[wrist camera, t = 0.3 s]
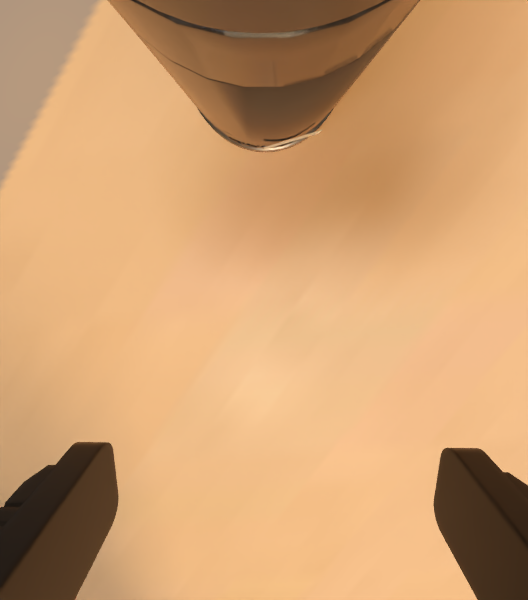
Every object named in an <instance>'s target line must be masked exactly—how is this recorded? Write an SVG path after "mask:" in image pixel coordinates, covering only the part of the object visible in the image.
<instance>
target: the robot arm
mask: <svg viewBox="0 0 528 600" xmlns="http://www.w3.org/2000/svg"><path fill="white" fill-rule="evenodd" d="M108 1H109V3H110V4H111V5H112V6H113V7H114V8H115V10H116V11H117V12H118V13H119V14H120V15H121V17H122V18H123V19H124V20H125V21H126V22H127V24H128V25H129V26H130V27H131V28H132V30H133V31H134V32H135V33H136V34H137V36H138V37H139V38H140V39H141V40H142V42H143V43H144V44H145V45H146V46H147V48H148V49H149V50H150V51H151V52H152V54H153V55H154V56H155V57H156V58H157V60H158V61H159V62H160V63H161V64H162V66H163V67H164V68H165V69H166V70H167V72H168V73H169V74H170V75H171V76H172V78H173V79H174V80H175V81H176V82H177V84H178V85H179V86H180V87H181V88H182V90H183V91H184V92H185V93H186V94H187V96H188V97H189V98H190V99H191V100H192V102H193V103H194V104H195V105H196V106H197V108H198V110H199V111H200V113H201V114H202V116H203V117H204V119H205V120H206V121H207V122H208V123H209V125H210V126H211V127H212V128H213V129H214V130H215V131H216V132H217V133H218V134H219V135H221V136H222V137H223V138H224V139H226V140H227V141H229V142H230V143H232V144H234V145H236V146H238V147H241V148H244V149H247V150H251V151H257V152H274V151H280V150H284V149H287V148H290V147H292V146H295V145H297V144H298V143H300V142H302V141H304V140H305V139H307V138H308V137H309V136H312V135H315V134H319V133H320V132H321V131H322V130H320V131H317V132H315V131H316V130H317V129H318V128H319V127H320V126H321V125H322V123H323V122H324V121H325V120H326V119H327V117H328V116H329V114H330V113H331V111H332V110H333V108H334V106H335V105H336V104H337V103H338V102H339V100H340V99H341V98H342V97H343V95H344V94H345V93H346V92H347V90H348V89H349V88H350V87H351V85H352V84H353V83H354V82H355V80H356V79H357V78H358V77H359V75H360V74H361V73H362V72H363V70H364V69H365V68H366V67H367V66H368V64H369V63H370V62H371V61H372V59H373V58H374V57H375V56H376V54H377V53H378V52H379V51H380V49H381V48H382V47H383V46H384V44H385V43H386V42H387V41H388V39H389V38H390V37H391V36H392V35H393V33H394V32H395V31H396V30H397V28H398V27H399V26H400V25H401V23H402V22H403V21H404V20H405V18H406V17H407V16H408V15H409V13H410V12H411V11H412V10H413V8H414V7H415V6H416V5H417V3H418V2H419V1H420V0H108ZM117 506H118V488H117V479H116V471H115V462H114V454H113V448H112V445H111V444H110V443H104V442H77V443H75V444H73V445H72V446H71V447H70V449H69V450H68V451H67V452H66V453H65V454H64V456H63V457H62V458H61V459H60V460H59V461H58V463H57V464H56V465H48V466H46V467H45V468H44V469H42V470H41V471H39V472H38V473H36V474H35V475H33V476H32V477H31V478H29V479H28V480H26V481H25V482H24V483H23V484H22V485H21V486H20V487H19V488H18V489H17V490H16V491H15V492H14V494H13V495H12V496H11V497H10V498H9V499H8V500H7V501H6V502H5V506H4V507H1V508H0V600H75V598H76V596H77V594H78V592H79V590H80V588H81V586H82V584H83V582H84V580H85V578H86V576H87V574H88V572H89V570H90V568H91V566H92V564H93V562H94V560H95V558H96V556H97V554H98V552H99V550H100V548H101V546H102V544H103V542H104V540H105V538H106V536H107V534H108V532H109V530H110V528H111V526H112V524H113V521H114V519H115V515H116V512H117ZM434 512H435V517H436V521H437V524H438V527H439V529H440V531H441V533H442V535H443V537H444V539H445V541H446V542H447V544H448V546H449V548H450V550H451V552H452V553H453V555H454V557H455V559H456V561H457V563H458V564H459V566H460V568H461V570H462V572H463V574H464V575H465V577H466V579H467V581H468V583H469V585H470V586H471V588H472V590H473V592H474V594H475V596H476V597H477V599H478V600H528V485H526V484H525V483H523V482H522V481H520V480H519V479H517V478H516V477H514V476H513V475H511V474H510V473H509V472H502V471H501V470H500V468H499V467H498V466H497V465H496V464H495V463H494V462H493V461H492V460H491V459H490V457H489V456H488V455H487V454H486V453H485V452H484V451H482V450H481V449H478V448H445V449H444V450H443V451H442V453H441V458H440V464H439V471H438V477H437V484H436V490H435V496H434Z"/></svg>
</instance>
